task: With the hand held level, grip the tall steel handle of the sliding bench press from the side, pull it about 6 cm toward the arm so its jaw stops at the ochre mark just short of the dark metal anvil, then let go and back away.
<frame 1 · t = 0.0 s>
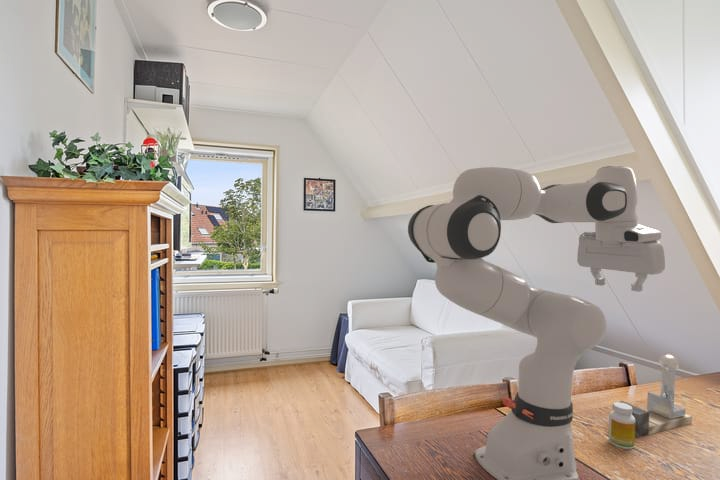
hand: (617, 287, 99), 39 cm above the table, tool pointing down, fingers open, 8 cm apart
press slide: (667, 383, 111), point 10 cm above the table, slide at 0.0 cm
supplement bottle: (621, 444, 99), on the table
press base: (652, 423, 109), on the table
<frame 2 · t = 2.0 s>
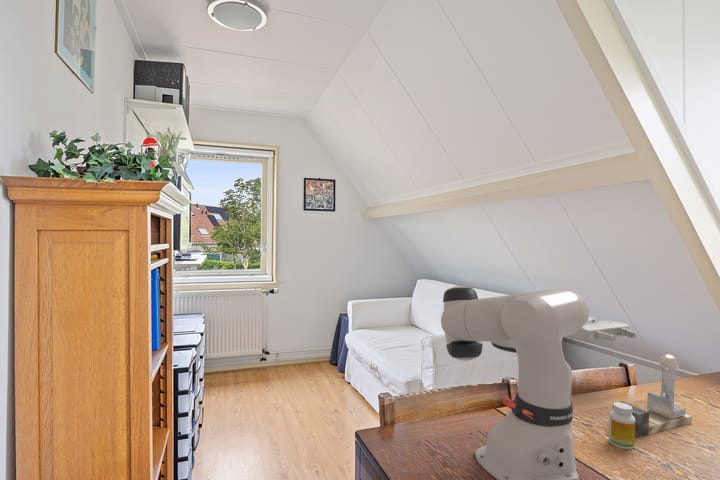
hand: (624, 337, 122), 20 cm above the table, tool horizontal, fingers open, 8 cm apart
nothing on the table moved.
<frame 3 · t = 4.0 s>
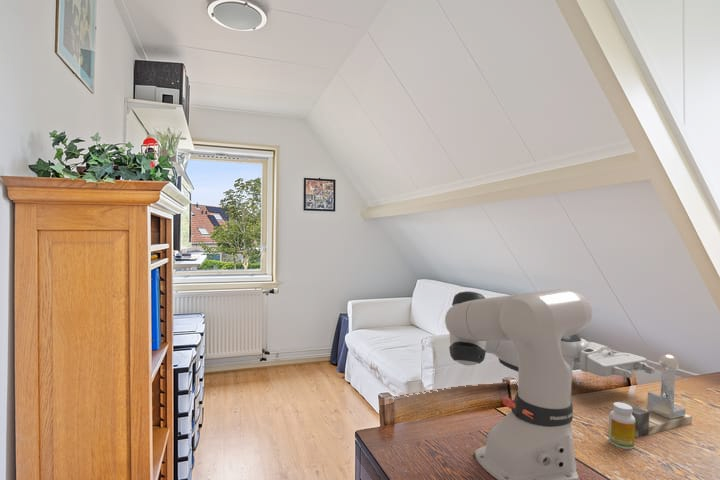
hand: (642, 373, 118), 11 cm above the table, tool horizontal, fingers open, 8 cm apart
nothing on the table moved.
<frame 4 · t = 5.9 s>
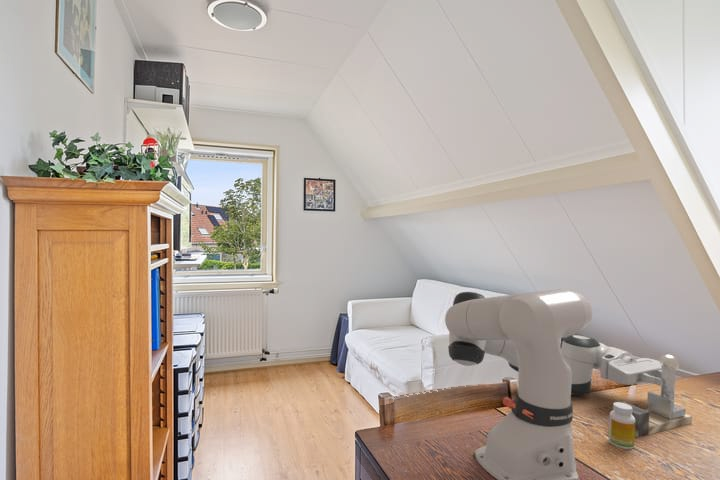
hand: (668, 381, 111), 11 cm above the table, tool horizontal, fingers open, 3 cm apart
press slide: (667, 383, 111), point 10 cm above the table, slide at 0.0 cm, touching gripper
everything else where it was.
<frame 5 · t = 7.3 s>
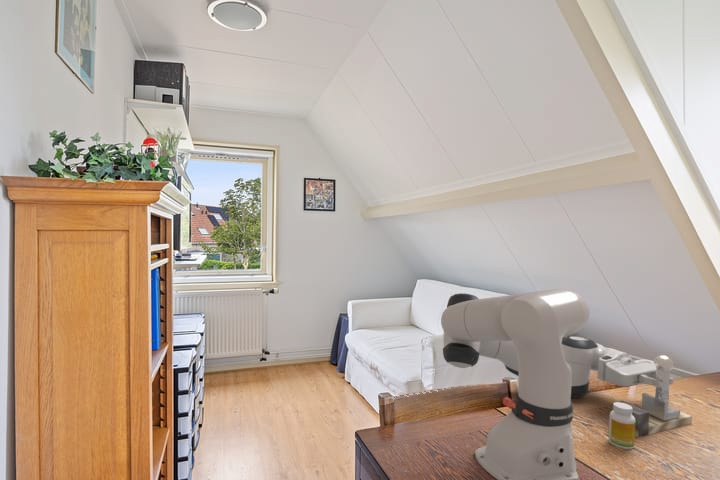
hand: (666, 383, 109), 11 cm above the table, tool horizontal, fingers closed on press slide, 3 cm apart
press slide: (661, 384, 110), point 11 cm above the table, slide at 2.3 cm, touching gripper
everything else where it was.
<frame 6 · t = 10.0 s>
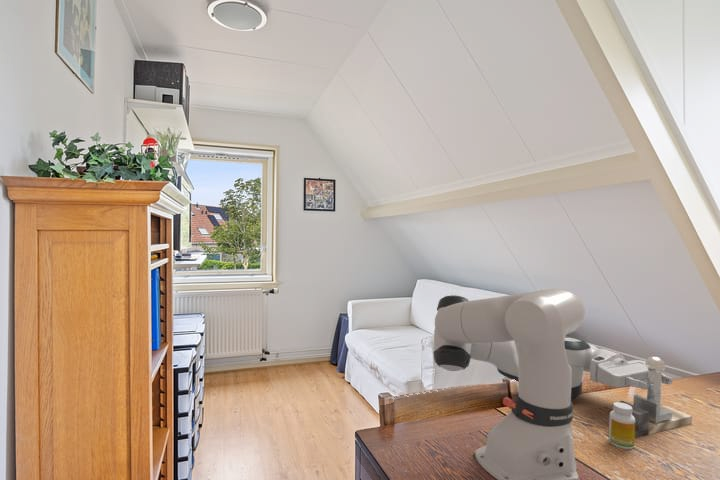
hand: (659, 384, 108), 12 cm above the table, tool horizontal, fingers open, 8 cm apart
press slide: (653, 386, 109), point 10 cm above the table, slide at 5.8 cm
everything else where it was.
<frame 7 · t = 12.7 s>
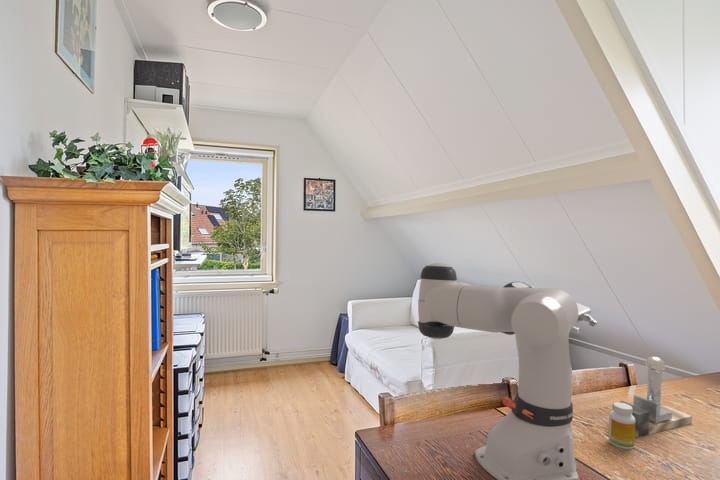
hand: (587, 327, 127), 22 cm above the table, tool tilted 75°, fingers open, 8 cm apart
nothing on the table moved.
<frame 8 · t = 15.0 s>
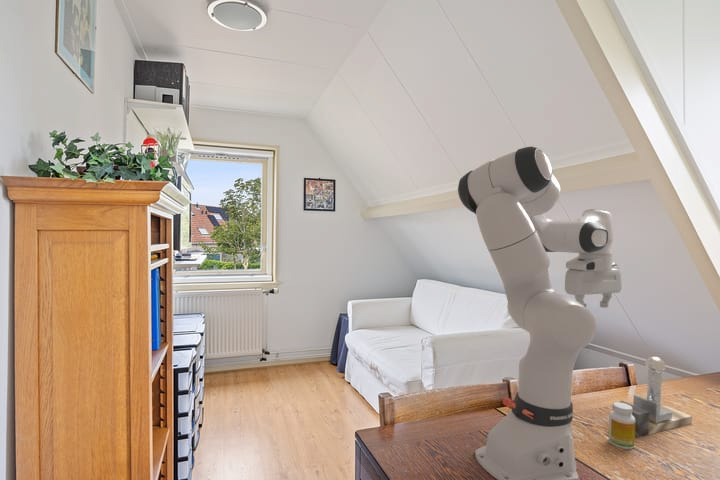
hand: (593, 308, 122), 29 cm above the table, tool pointing down, fingers open, 8 cm apart
nothing on the table moved.
at the end: press slide slide at 5.8 cm; the gripper is holding nothing; supplement bottle moved 0.2 cm from its start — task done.
